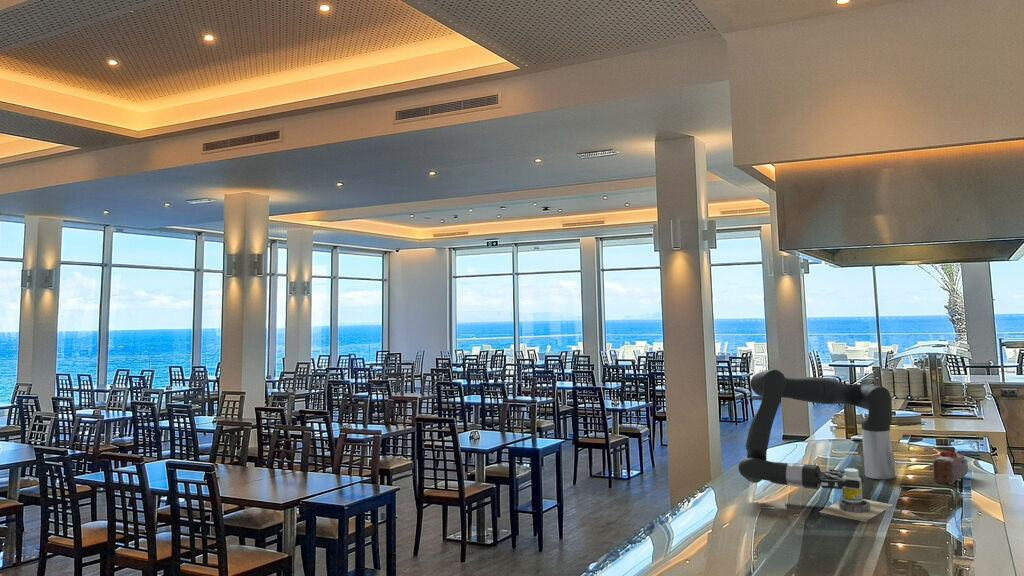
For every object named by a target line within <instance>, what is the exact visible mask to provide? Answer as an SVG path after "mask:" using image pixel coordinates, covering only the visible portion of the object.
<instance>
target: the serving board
mask: <svg viewBox="0 0 1024 576" xmlns="http://www.w3.org/2000/svg"><path fill="white" fill-rule="evenodd" d="M862 500H865V501H868V502H869V503H870V510H869V511H868V512H863V513H854V512H847V511H844V510H841V509H840V508H839V503H838V501H836V502H834V503H832V504H831V505H829V506H827V507H825V508H823V509H821V510H820V511H818V513H822V514H826V515H830V516H831V515H832V516H837V517H841V518H845V519H850V520H855V521H860V522H864V523H865V522H868V521H869V520H870V519H873V518H874V517H876V516H877V515H879V514H880V513H882V512H885V511H886V510H887V509H889V508H891V507H892V506H893V504H890V503H886V502H881V501H875V500H870V499H863V498H862ZM851 506H860V505H851Z"/></svg>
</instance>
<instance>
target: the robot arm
mask: <svg viewBox="0 0 1024 576" xmlns="http://www.w3.org/2000/svg"><path fill="white" fill-rule="evenodd" d="M749 385H750V388H751V390H752V391H753V393H754V394H756V395H757V396H759V397H761V402H760V404H759V407H758V410H757V412H756V413H755V416H754V417H753V419H752V421H751V424H750V426H749V428H748V433H747V438H746V442H745V449H746V452H747V456H746V458H743V459H742V460H741V461H740V462H739V463H738V472H739V473H740V475H741V476H742V477H743V478H744V479H746V480H747V481H749V482H750V483H753V484H757V483H760V482H762V481H766V482H767V481H768V482H770V483H773V484H775V485H776V484H777V485H784V486H791V487H795V488H804V489H810V490H819V489H820V487H821V488H822V489H833V490H843V488H846V487H850V488H859V487H860V482H859V481H857V480H847V479H846V480H845V479H842V477H843V476H844V475H845V473H844V470H843V471H842V470H837V469H832V468H829V469H828V470H825V471H821V468H820V466H819V465H818V464H817V465H816V464H808V463H807V464H806V463H790V462H789V463H788V462H776V461H775V462H774V461H770V460H767V452H768V448H769V443H770V438H771V433H772V428H773V424H774V421H775V418H776V415H777V412H778V410H779V406H780V404H781V401H782V398H785V399H786V398H787V399H792V400H797V401H801V402H808V403H812V404H821V405H837V404H845V405H851V406H853V407H857V408H858V407H859V408H862V409H865V410H868V417H867V418H866V419H863V420H862V421H861V423H860V425H861V438H862V451H863V464H864V465H863V466H864V467H863V468H864V476H865V477H866V478H870V479H874V480H891V479H896V467H895V455H894V454H895V453H894V451H893V448H892V438H891V424H892V420H893V403H892V396H891V393H890V391H889V390H888V389H887V388H886V387H884V386H881V385H875V384H870V383H869V384H866V383H865V384H861V383H859V384H858V383H856V384H855V383H854V384H852V383H850V384H849V383H843V382H840V381H837V380H834V379H830V378H824V377H818V376H816V377H814V376H807V377H806V376H798V377H786V376H785V375H784V373H783V372H782V371H780V370H779V369H775V368H774V369H772V368H771V369H766V370H762V371H759V372H757V373H755V374H754V375H753V376H752V378H751V379H750V384H749ZM858 476H859V477H860V478H861V484H862V483H864V477H863V475H859V474H858Z"/></svg>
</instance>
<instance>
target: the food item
mask: <svg viewBox="0 0 1024 576" xmlns="http://www.w3.org/2000/svg"><path fill="white" fill-rule="evenodd" d="M968 463H969V462H968V460H967V459H966V458H965V456H964V455H962V454H960V453H958V452H954V451H951V452H950V451H941V452H940V453H939V457H936V458H934V459H933V460H932V466H933V467H932V469H933V471H932V474H933V475H932V476H933V480H934V482H936V483H937V484H938V483H941V484H945V483H953V484H954V483H956V482H957V481H956V480H958V479H961V478H962V479H964V478H965V477H964V476H966V475H968V473H969V465H968ZM963 477H964V478H963ZM955 481H956V482H955Z"/></svg>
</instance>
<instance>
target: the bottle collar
mask: <svg viewBox="0 0 1024 576" xmlns="http://www.w3.org/2000/svg"><path fill="white" fill-rule="evenodd" d="M865 500H866V499H865ZM865 500H862V502H859V503H851V502H847V501H845V500H844V499H843V498H840V499H839V500H838V501H837V502H838V503H839V508H840V509H841V510H844V511H847V512H854V513H863V512H868V511H869V510H870V503H869V502H868V501H865ZM851 505H860V506H851Z"/></svg>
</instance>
